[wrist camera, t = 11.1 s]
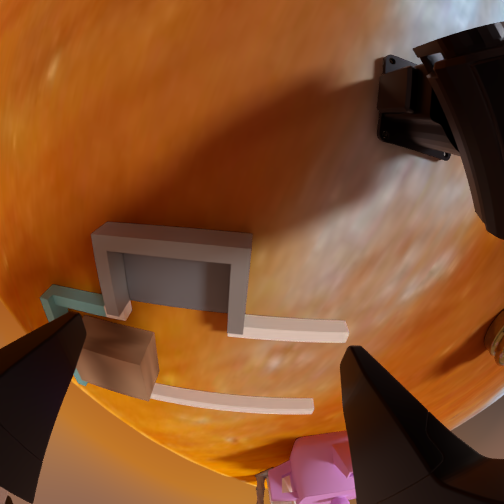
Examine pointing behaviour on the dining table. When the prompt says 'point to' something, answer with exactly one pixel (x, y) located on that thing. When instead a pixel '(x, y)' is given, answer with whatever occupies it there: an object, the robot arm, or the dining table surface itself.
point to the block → (119, 358)
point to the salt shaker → (496, 339)
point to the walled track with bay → (187, 297)
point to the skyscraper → (260, 488)
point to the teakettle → (316, 471)
